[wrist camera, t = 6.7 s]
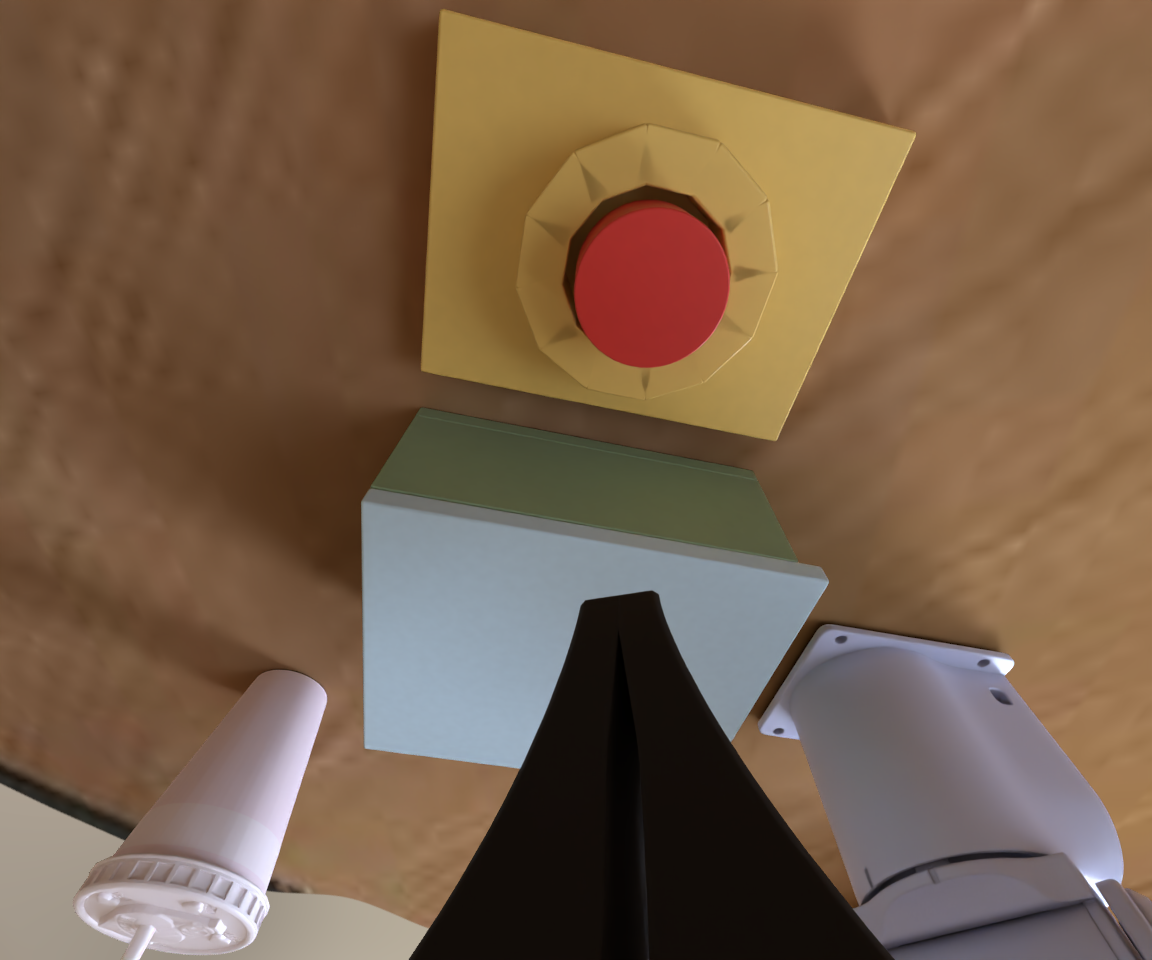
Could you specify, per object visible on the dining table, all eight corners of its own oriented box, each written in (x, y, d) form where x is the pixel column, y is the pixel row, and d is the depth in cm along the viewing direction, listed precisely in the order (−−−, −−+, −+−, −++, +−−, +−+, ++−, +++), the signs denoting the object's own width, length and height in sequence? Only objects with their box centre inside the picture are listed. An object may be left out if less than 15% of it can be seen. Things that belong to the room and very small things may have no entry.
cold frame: (753, 470, 20) (799, 561, 16) (665, 666, 26) (681, 773, 22) (420, 406, 19) (369, 485, 15) (408, 626, 25) (370, 730, 21)
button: (733, 217, 13) (754, 227, 12) (688, 355, 15) (701, 381, 13) (591, 184, 13) (592, 190, 11) (564, 329, 15) (560, 352, 13)
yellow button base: (895, 132, 14) (962, 129, 12) (766, 427, 19) (793, 469, 17) (450, 17, 13) (417, -13, 11) (429, 359, 18) (402, 394, 16)
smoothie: (208, 648, 26) (-111, 1072, 14) (341, 654, 26) (134, 1082, 14) (246, 727, 29) (14, 1123, 18) (363, 732, 29) (211, 1130, 18)
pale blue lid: (822, 565, 16) (830, 582, 15) (697, 775, 22) (700, 792, 21) (368, 486, 15) (360, 501, 14) (369, 731, 20) (363, 749, 20)
